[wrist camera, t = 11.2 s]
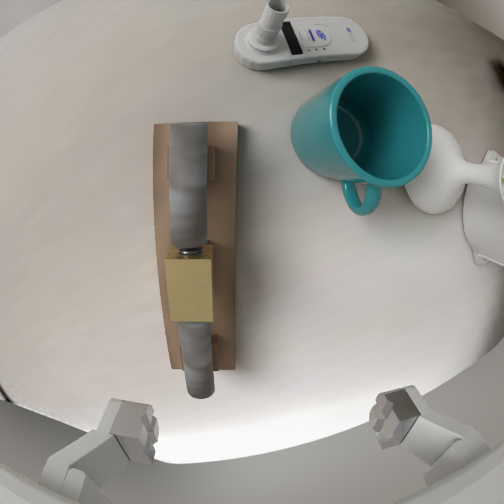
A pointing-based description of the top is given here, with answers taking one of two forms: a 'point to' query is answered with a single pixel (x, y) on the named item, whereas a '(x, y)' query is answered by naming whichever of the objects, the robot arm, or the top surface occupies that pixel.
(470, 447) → the robot arm
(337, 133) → the cup
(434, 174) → the flower in vase
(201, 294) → the block
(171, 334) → the shaft bench
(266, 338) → the top surface
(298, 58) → the electronic device
